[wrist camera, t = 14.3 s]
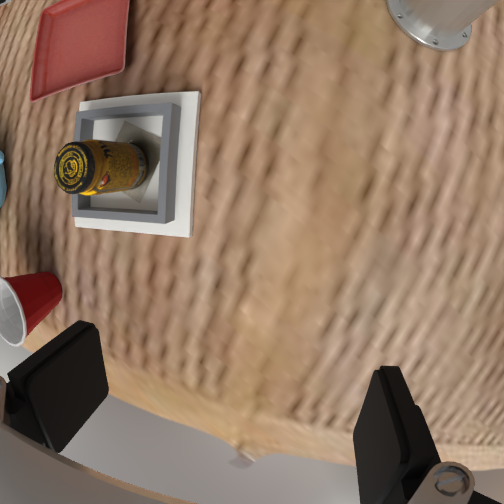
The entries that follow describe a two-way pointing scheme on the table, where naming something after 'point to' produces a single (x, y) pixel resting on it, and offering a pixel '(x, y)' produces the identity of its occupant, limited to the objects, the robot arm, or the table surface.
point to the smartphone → (4, 2)
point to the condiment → (109, 164)
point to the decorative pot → (2, 180)
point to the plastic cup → (26, 303)
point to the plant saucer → (78, 44)
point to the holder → (166, 173)
